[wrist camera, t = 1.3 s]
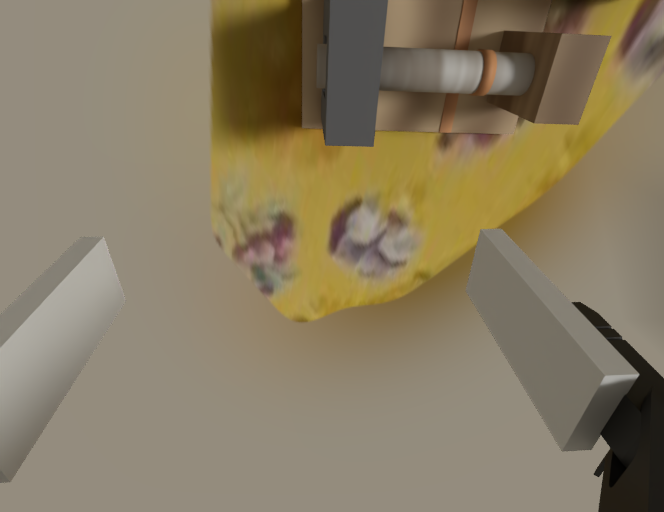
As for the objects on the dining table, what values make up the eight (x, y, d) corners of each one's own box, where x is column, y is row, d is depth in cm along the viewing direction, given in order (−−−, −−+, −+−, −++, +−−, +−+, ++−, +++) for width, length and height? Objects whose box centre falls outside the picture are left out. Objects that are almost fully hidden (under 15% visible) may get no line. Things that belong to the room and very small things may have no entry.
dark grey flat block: (320, 117, 30) (325, 145, 23) (324, -5, 26) (330, -13, 19) (358, 118, 30) (373, 146, 24) (367, -2, 26) (388, -10, 19)
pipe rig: (302, 125, 32) (301, 155, 25) (302, -22, 27) (301, -37, 19) (508, 131, 33) (564, 162, 26) (546, -8, 28) (631, -17, 21)
